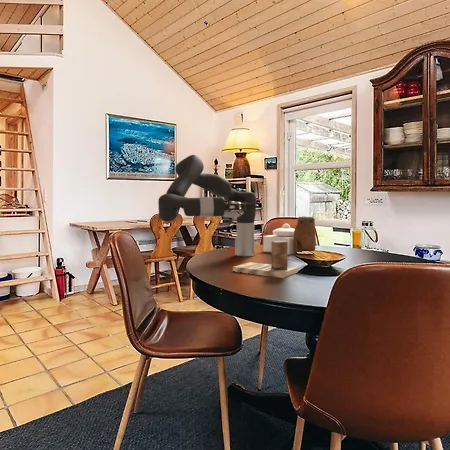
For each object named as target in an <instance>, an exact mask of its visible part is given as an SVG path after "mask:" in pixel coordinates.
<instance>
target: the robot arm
mask: <svg viewBox="0 0 450 450" xmlns="http://www.w3.org/2000/svg"><path fill="white" fill-rule="evenodd" d="M174 167H175V169H174V170H175V173H176V174H177V177H176V178H175V179H174V180H173V181H172V183H171V184H170V185H169V187H168V188H167V190H166V192H165V194H162V195H161V196H159V198H158V201H157V202H158V216H159V218H160V220H161V221H164V222H172V221H174V220H176V219H177V217H178V215H179V212H180V209H182V210H183V212H184V215H185V217H208V218H209V217H211V218H212V217H224V216H225V212H226V211H227V212H229V213H230V212H231V213H232V212H239V211H243V213H242V214H241V215H239V216H237V217H236V236H235V237H234V255H235V256H237V257H253V256H255V219H256V215H257V213H256V210H257V198H256V194H255V193H254V192H252V191H238V190H235V189H234V188H232V184H231V183H230V182H229V180H227V178H225V177H223V176H222V175H219V174H215V173H203V171H204V169H205V168H204V162H203V160H202V159H201V158H200V156H199V155H197V154H190V155H188V156H187V157H185V158H183V159H182V160H181V161H179V162H177V164H175V166H174ZM192 185H194V186H197V187H200V188H201V189H203V190H205V191H207V192H209V193H211V194H212V195H214V196H203V197H186V194H187V192H188V191H189V189H190V188H191V186H192ZM225 201H226V202H225Z"/></svg>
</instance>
